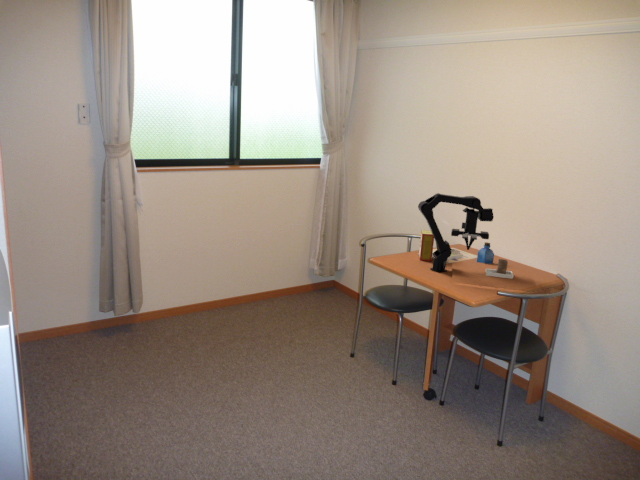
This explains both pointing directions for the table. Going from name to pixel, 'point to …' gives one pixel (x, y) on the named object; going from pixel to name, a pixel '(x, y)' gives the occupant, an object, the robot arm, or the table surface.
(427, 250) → the baking soda box
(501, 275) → the trap track
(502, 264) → the block
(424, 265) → the table surface
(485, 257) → the perfume bottle
